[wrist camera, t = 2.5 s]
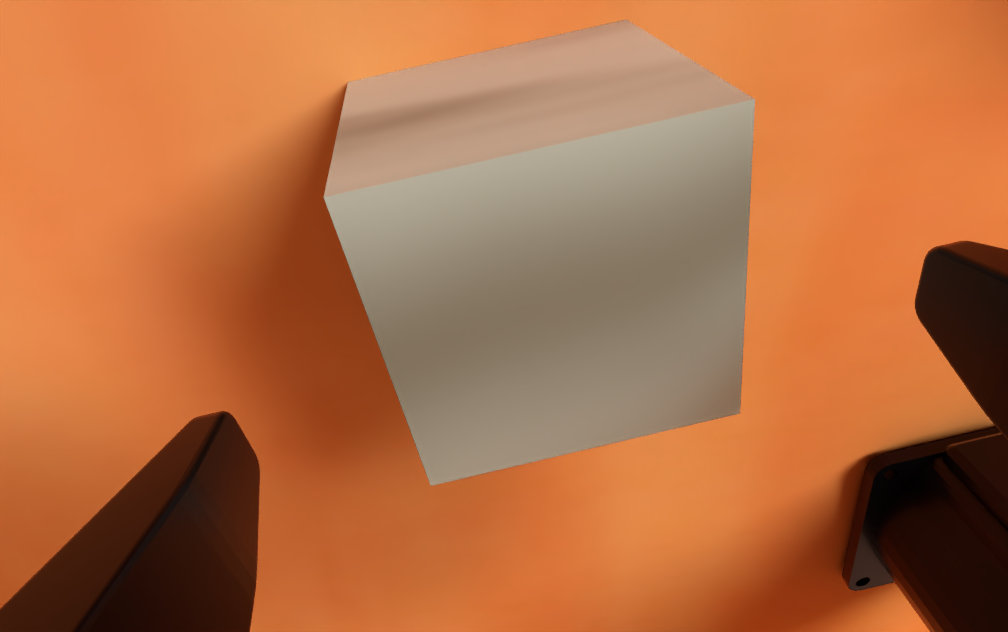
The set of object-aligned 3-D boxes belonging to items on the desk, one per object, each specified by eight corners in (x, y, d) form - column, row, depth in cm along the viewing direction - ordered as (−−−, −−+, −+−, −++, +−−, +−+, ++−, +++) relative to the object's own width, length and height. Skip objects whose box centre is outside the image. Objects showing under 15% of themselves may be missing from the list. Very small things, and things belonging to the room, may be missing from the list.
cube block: (640, 258, 14) (739, 413, 10) (419, 310, 14) (430, 485, 10) (624, 18, 11) (754, 98, 7) (348, 81, 11) (324, 197, 7)
